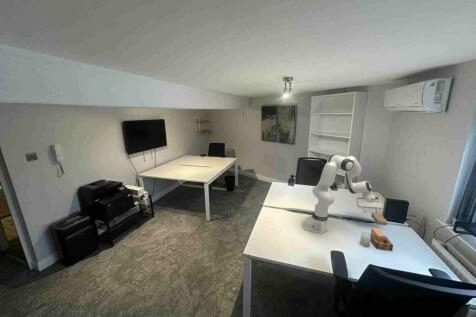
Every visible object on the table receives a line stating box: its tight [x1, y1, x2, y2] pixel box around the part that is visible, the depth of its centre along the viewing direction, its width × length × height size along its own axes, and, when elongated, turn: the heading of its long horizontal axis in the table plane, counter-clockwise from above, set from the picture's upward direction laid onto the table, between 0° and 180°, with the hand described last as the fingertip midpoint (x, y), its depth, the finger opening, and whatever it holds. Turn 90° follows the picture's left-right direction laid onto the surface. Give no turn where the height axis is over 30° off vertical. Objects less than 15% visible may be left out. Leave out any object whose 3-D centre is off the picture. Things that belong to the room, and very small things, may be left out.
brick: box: [371, 212, 388, 226], centre depth 186 cm, size 17×8×5 cm, turn 162°
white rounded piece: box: [359, 231, 371, 248], centre depth 152 cm, size 6×6×9 cm
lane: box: [369, 233, 394, 252], centre depth 151 cm, size 11×12×5 cm
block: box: [370, 226, 386, 243], centre depth 157 cm, size 5×12×8 cm, turn 167°
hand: (371, 212), depth 170 cm, fingers open, 8 cm apart
